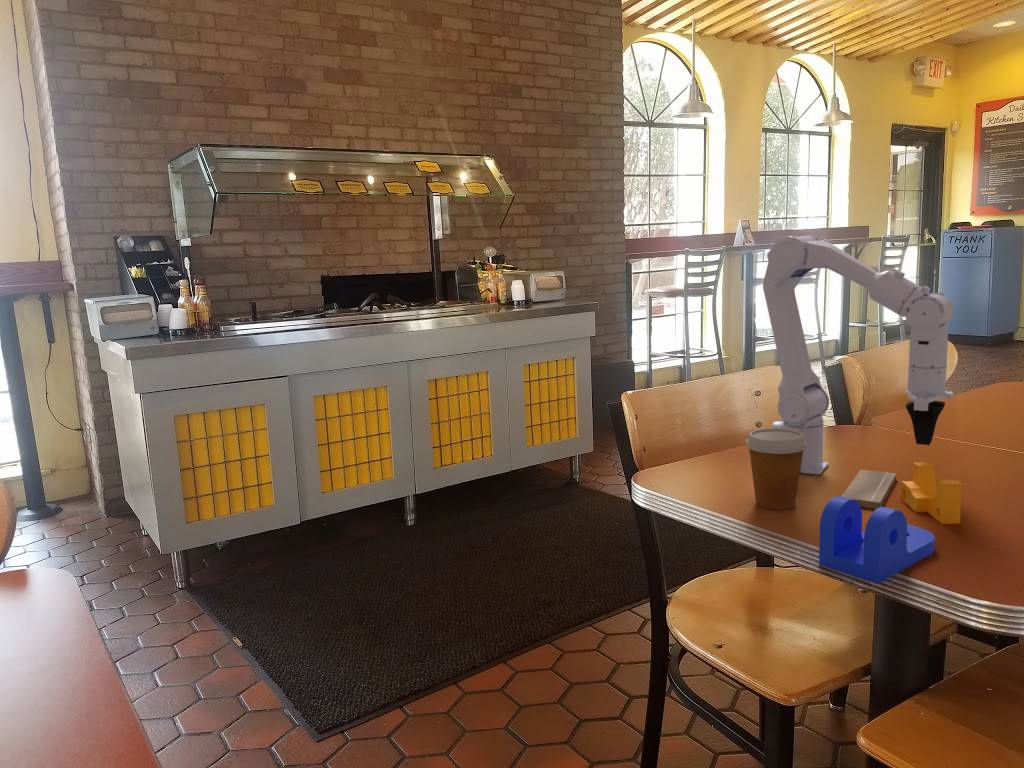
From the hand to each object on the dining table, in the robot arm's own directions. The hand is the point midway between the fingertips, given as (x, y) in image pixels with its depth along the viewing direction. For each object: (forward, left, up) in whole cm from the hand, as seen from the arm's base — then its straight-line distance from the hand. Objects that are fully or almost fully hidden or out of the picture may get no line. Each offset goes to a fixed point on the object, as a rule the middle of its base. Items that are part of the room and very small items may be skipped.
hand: (923, 443), depth 135 cm
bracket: (-1, -35, -8) cm, 36 cm away
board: (-7, -6, -8) cm, 12 cm away
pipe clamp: (+2, -12, -8) cm, 15 cm away
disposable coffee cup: (-20, -19, -8) cm, 29 cm away
